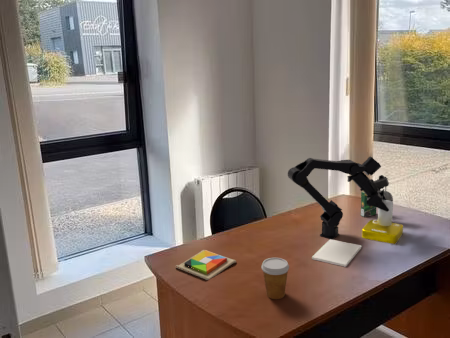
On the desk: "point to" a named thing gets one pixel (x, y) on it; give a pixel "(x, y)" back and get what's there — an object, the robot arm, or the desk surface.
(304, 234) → the desk surface
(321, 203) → the robot arm
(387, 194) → the beverage cup
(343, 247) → the notebook
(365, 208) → the coffee box
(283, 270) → the disposable coffee cup
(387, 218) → the grey cylinder
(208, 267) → the wooden puzzle
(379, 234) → the element tile
